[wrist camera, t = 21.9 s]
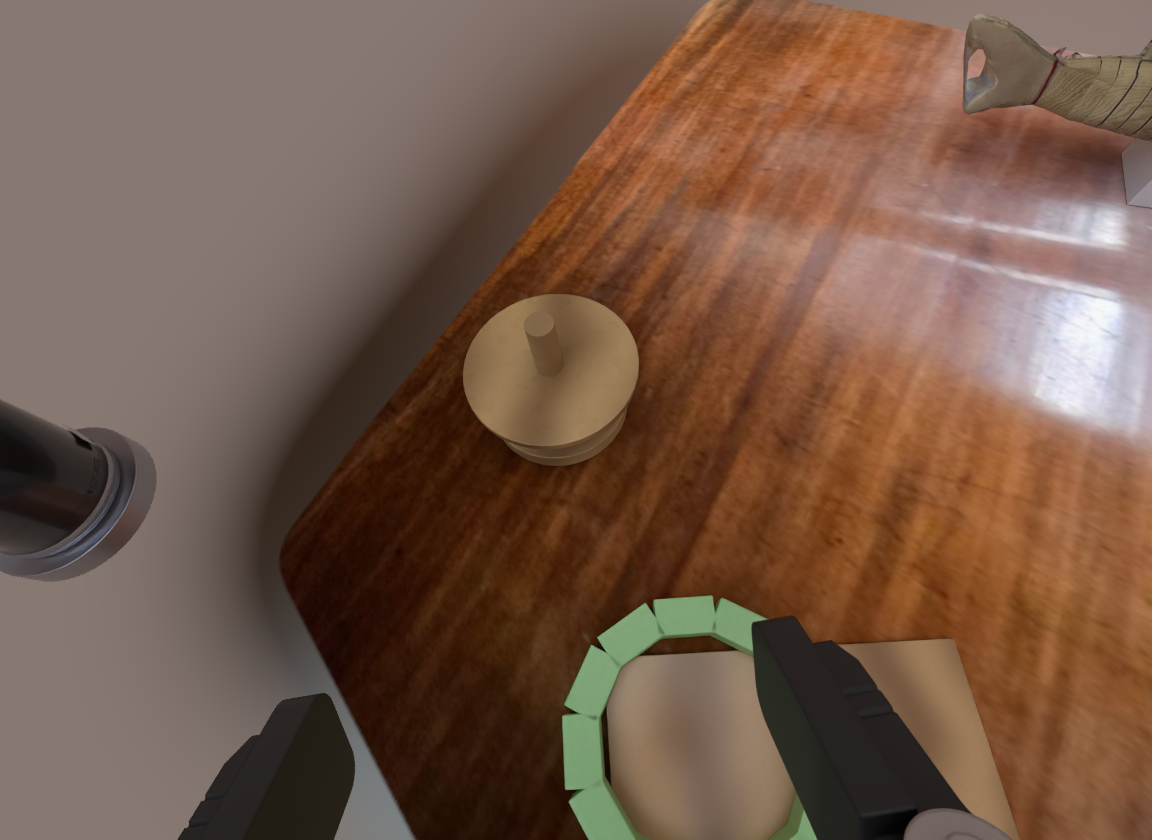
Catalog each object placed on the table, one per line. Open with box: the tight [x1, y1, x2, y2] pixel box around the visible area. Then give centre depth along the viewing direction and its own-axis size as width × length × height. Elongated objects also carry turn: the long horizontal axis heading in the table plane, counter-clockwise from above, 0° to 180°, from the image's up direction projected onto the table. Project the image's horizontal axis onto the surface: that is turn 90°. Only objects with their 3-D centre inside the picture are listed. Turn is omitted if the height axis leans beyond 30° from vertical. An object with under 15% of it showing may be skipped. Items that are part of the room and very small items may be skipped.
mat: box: [606, 638, 1020, 840], centre depth 28 cm, size 20×15×1 cm
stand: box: [463, 294, 639, 466], centre depth 36 cm, size 12×12×10 cm
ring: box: [562, 595, 817, 840], centre depth 29 cm, size 15×15×2 cm
